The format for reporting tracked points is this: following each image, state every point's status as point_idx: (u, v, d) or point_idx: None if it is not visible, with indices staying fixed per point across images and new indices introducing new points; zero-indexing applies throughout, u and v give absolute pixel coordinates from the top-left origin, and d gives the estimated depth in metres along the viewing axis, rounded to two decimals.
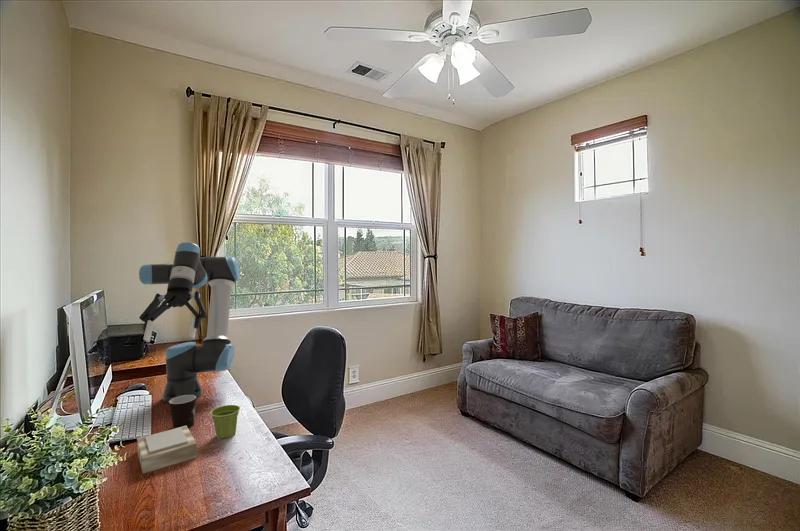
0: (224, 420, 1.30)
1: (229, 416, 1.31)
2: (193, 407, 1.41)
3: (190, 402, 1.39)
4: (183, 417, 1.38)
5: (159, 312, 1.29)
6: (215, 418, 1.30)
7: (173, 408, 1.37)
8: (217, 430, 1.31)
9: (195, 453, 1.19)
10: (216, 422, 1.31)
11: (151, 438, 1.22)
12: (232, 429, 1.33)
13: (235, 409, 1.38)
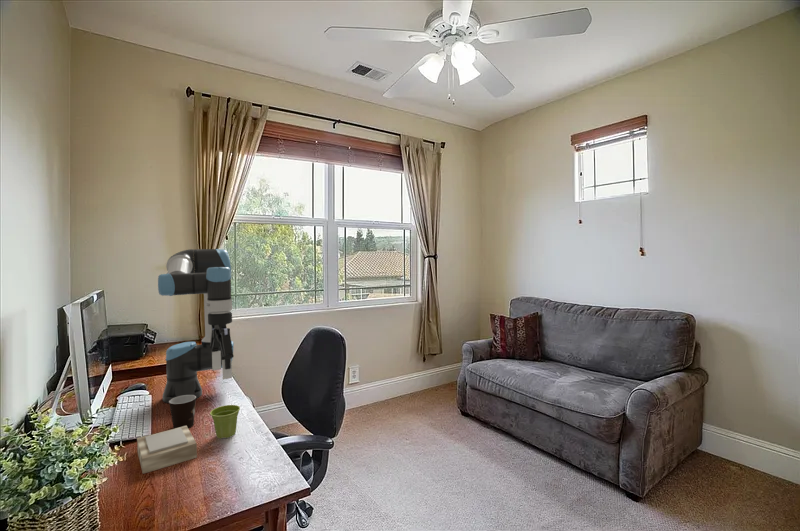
0: (223, 420, 1.30)
1: (229, 416, 1.31)
2: (193, 407, 1.41)
3: (190, 402, 1.39)
4: (183, 417, 1.38)
5: (216, 343, 1.37)
6: (215, 418, 1.30)
7: (173, 408, 1.37)
8: (217, 430, 1.31)
9: (195, 453, 1.19)
10: (216, 422, 1.31)
11: (151, 438, 1.22)
12: (232, 429, 1.33)
13: (235, 409, 1.38)
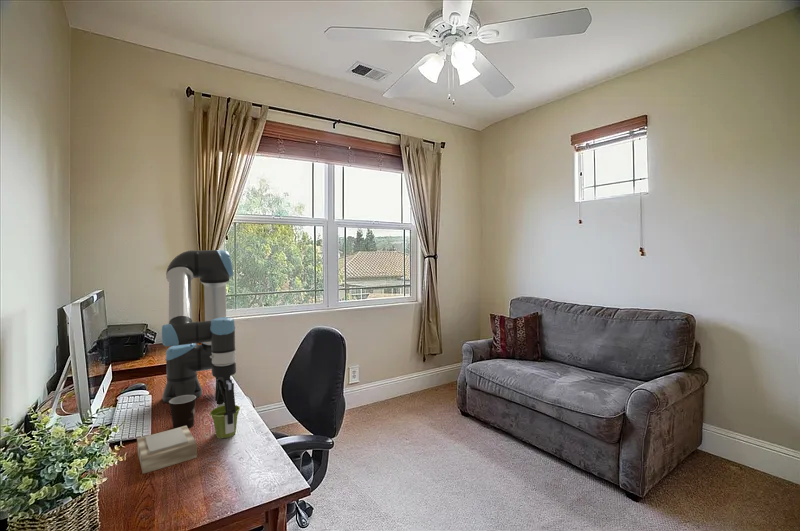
0: (223, 420, 1.30)
1: None
2: (193, 407, 1.41)
3: (190, 402, 1.39)
4: (183, 417, 1.38)
5: (221, 395, 1.37)
6: (215, 418, 1.30)
7: (173, 408, 1.37)
8: (217, 430, 1.31)
9: (195, 453, 1.19)
10: (216, 422, 1.31)
11: (151, 438, 1.22)
12: None
13: None
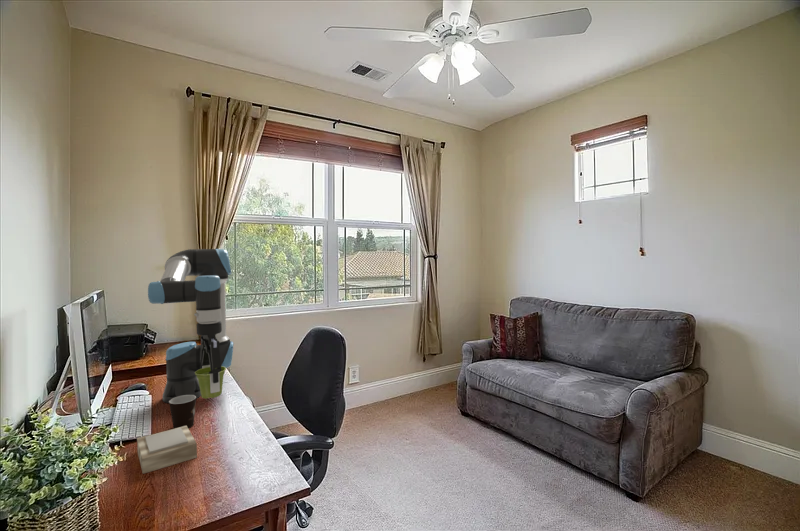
0: (209, 379, 1.27)
1: None
2: (193, 407, 1.41)
3: (190, 402, 1.39)
4: (183, 417, 1.38)
5: (206, 355, 1.33)
6: (200, 378, 1.27)
7: (173, 408, 1.37)
8: (202, 390, 1.28)
9: (195, 453, 1.19)
10: (201, 381, 1.27)
11: (151, 438, 1.22)
12: None
13: (221, 370, 1.34)
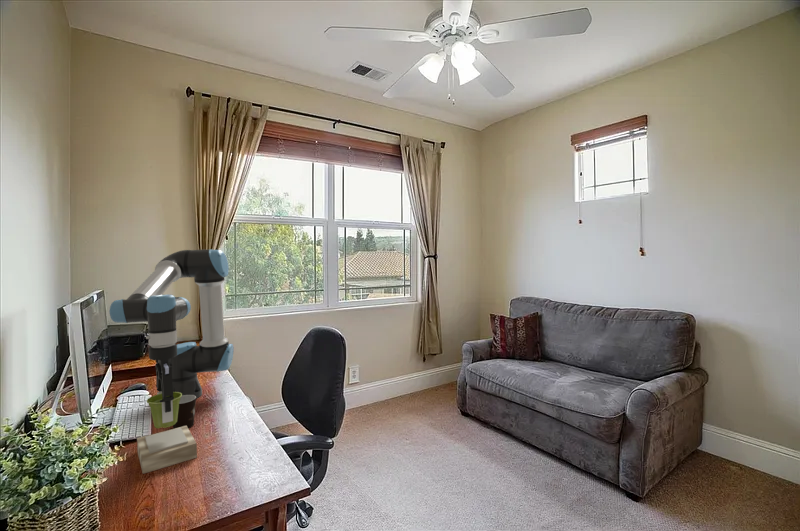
0: (161, 407, 1.17)
1: None
2: (193, 407, 1.41)
3: (190, 402, 1.39)
4: (183, 417, 1.38)
5: (161, 380, 1.23)
6: (151, 406, 1.17)
7: None
8: (154, 419, 1.18)
9: (195, 453, 1.19)
10: (153, 410, 1.18)
11: (151, 438, 1.22)
12: None
13: (177, 396, 1.24)
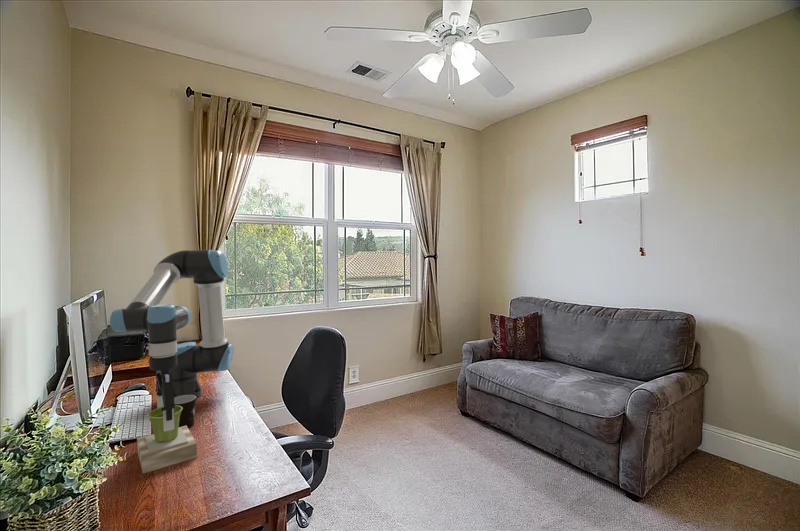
0: (162, 422, 1.18)
1: None
2: (193, 407, 1.41)
3: (190, 402, 1.39)
4: (183, 417, 1.38)
5: None
6: (152, 420, 1.18)
7: None
8: (155, 433, 1.19)
9: (195, 453, 1.19)
10: (153, 424, 1.18)
11: (151, 438, 1.22)
12: (173, 432, 1.20)
13: (178, 410, 1.25)
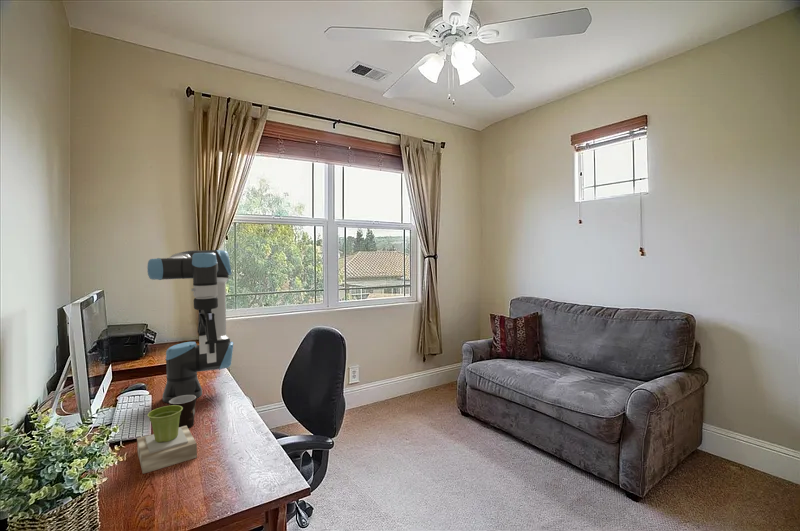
0: (162, 422, 1.18)
1: (168, 418, 1.18)
2: (193, 407, 1.41)
3: (190, 402, 1.39)
4: (183, 417, 1.38)
5: (203, 327, 1.39)
6: (152, 420, 1.18)
7: None
8: (155, 433, 1.19)
9: (195, 453, 1.19)
10: (154, 424, 1.18)
11: (151, 438, 1.22)
12: (173, 432, 1.20)
13: (178, 410, 1.25)
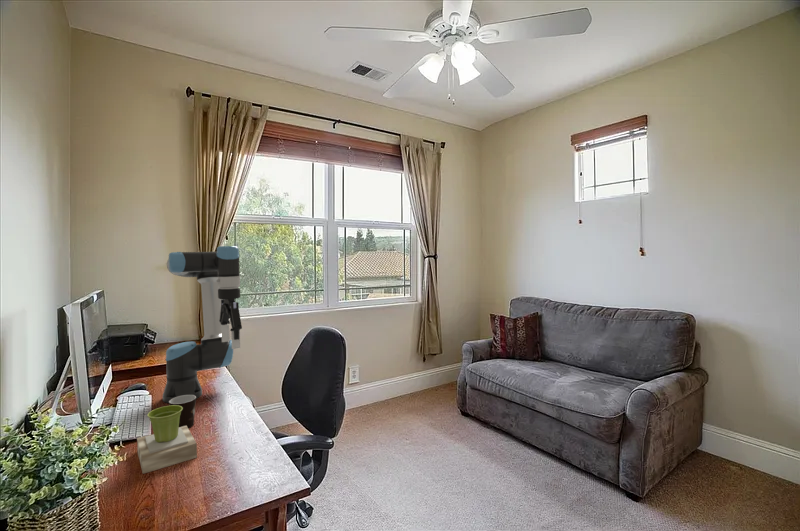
0: (162, 422, 1.18)
1: (168, 418, 1.18)
2: (193, 407, 1.41)
3: (190, 402, 1.39)
4: (183, 417, 1.38)
5: (225, 317, 1.48)
6: (152, 420, 1.18)
7: None
8: (155, 433, 1.19)
9: (195, 453, 1.19)
10: (154, 424, 1.18)
11: (151, 438, 1.22)
12: (173, 432, 1.20)
13: (178, 410, 1.25)
